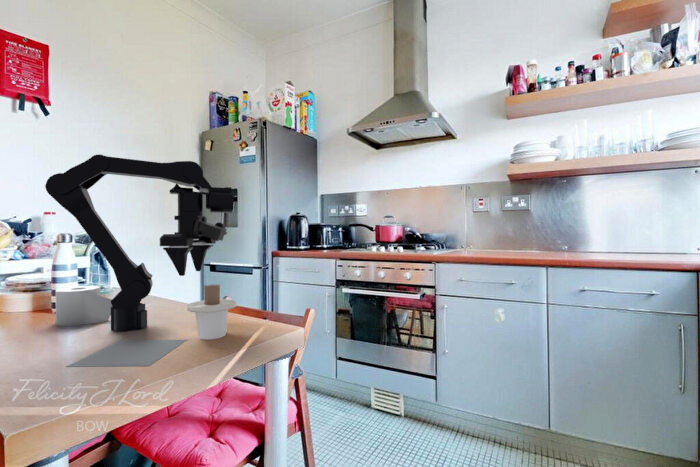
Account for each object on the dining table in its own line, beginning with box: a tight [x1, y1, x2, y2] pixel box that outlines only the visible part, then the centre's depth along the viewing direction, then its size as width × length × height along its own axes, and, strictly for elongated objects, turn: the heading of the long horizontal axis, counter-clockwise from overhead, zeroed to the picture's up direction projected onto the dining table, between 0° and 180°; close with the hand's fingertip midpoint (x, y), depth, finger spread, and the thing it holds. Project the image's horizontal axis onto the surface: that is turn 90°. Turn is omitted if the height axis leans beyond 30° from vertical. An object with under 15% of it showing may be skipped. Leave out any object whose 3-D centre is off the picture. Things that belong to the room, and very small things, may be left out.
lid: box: [186, 284, 237, 313], centre depth 75 cm, size 10×10×5 cm
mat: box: [65, 339, 187, 368], centre depth 65 cm, size 14×14×1 cm
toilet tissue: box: [55, 285, 113, 327], centre depth 91 cm, size 9×13×9 cm
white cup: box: [194, 310, 229, 341], centre depth 75 cm, size 7×7×7 cm
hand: (190, 273), depth 87 cm, fingers open, 9 cm apart
